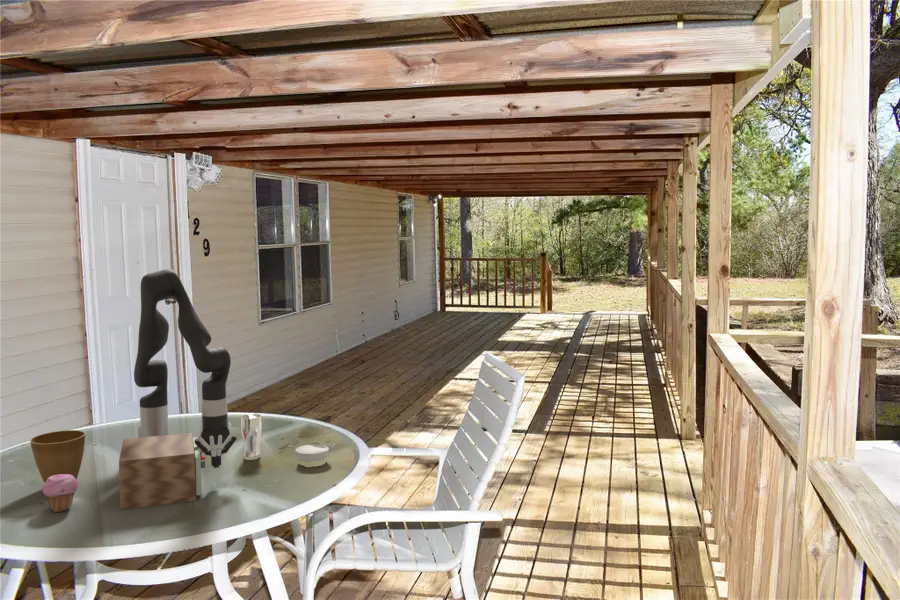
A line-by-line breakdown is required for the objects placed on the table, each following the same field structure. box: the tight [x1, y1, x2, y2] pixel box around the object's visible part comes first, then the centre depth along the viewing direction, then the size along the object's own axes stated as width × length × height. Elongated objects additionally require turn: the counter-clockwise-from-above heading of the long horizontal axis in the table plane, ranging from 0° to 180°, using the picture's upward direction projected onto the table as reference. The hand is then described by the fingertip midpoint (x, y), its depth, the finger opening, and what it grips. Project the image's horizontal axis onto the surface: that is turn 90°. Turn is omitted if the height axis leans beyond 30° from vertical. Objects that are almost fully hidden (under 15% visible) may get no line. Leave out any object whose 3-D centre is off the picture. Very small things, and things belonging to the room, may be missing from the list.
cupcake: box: [41, 474, 79, 513], centre depth 200 cm, size 9×9×10 cm
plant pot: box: [29, 429, 86, 484], centre depth 218 cm, size 15×15×16 cm
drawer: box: [192, 437, 206, 496], centre depth 216 cm, size 21×23×11 cm
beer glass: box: [240, 413, 263, 457], centre depth 248 cm, size 7×7×15 cm
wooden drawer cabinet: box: [118, 432, 197, 511], centre depth 215 cm, size 20×24×14 cm
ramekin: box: [294, 444, 330, 462], centre depth 242 cm, size 11×11×5 cm
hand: (216, 467), depth 221 cm, fingers closed
